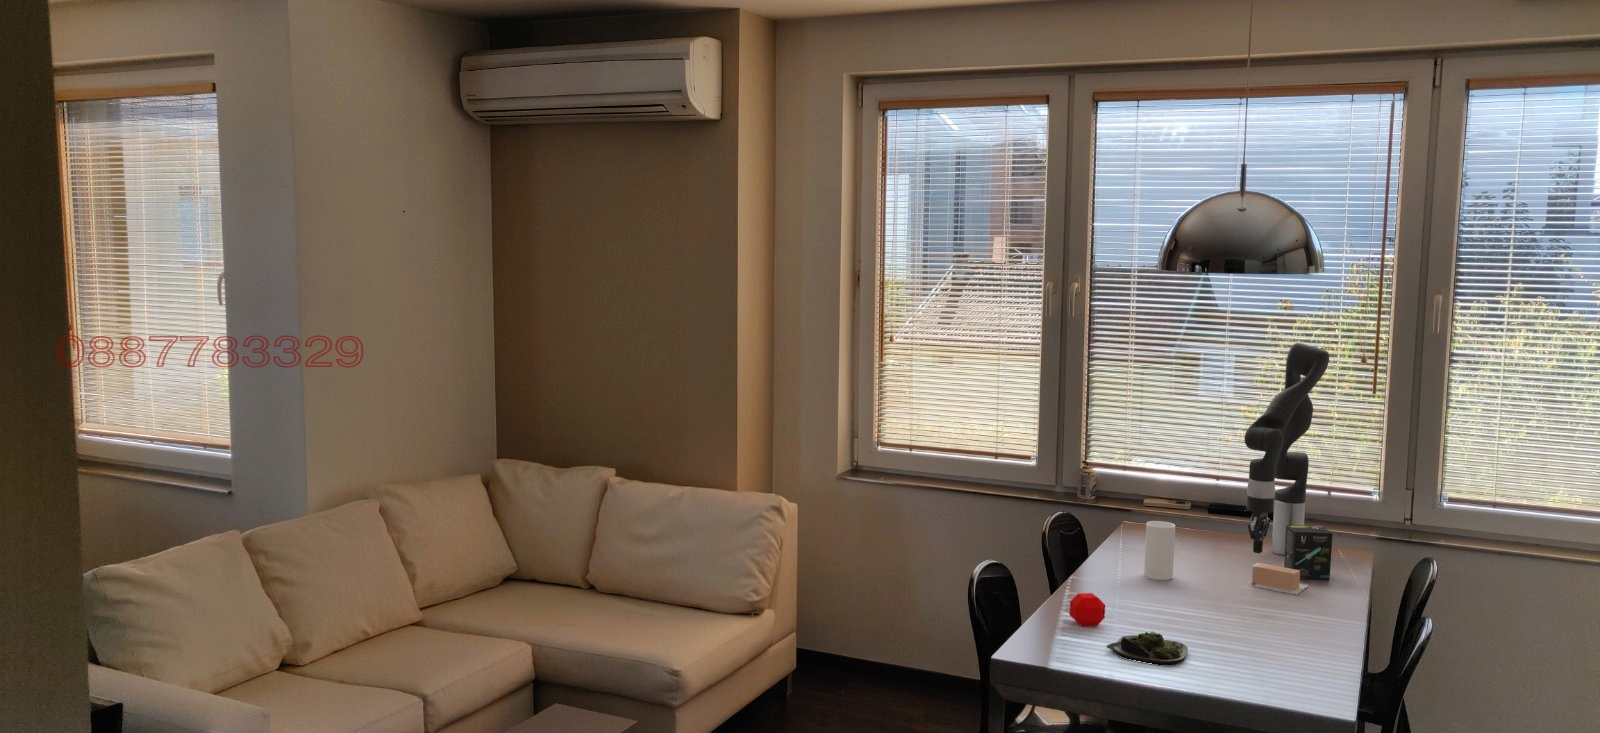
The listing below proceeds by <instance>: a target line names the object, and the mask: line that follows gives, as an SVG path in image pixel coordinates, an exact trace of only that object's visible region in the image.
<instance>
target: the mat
mask: <svg viewBox="0 0 1600 733" xmlns="http://www.w3.org/2000/svg"><path fill="white" fill-rule="evenodd" d="M1253 587H1254V588H1258V589H1259V588H1260V589H1264V590H1270V591H1275V592H1280V593H1284V592H1285V594H1289V593H1290V594H1291V595H1294V594H1296V595H1295V596H1297V595H1298V593H1299V594H1300V593H1302V592H1303V591H1305V590H1306V589H1307V588H1309V585H1307V584H1302V583H1299V588H1297V589H1296V590H1294V591H1292V590H1286V589H1281V588H1276V587H1271V586H1266V585H1261V584H1255V583H1254V585H1253ZM1305 588H1306V589H1305ZM1302 590H1303V591H1302ZM1301 591H1302V592H1301Z"/></svg>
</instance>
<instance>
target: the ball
mask: <svg viewBox="0 0 1600 733" xmlns="http://www.w3.org/2000/svg"><path fill="white" fill-rule="evenodd" d="M1105 614H1106V604H1105V602H1103V601H1102V600H1101V599H1100V598H1099V597H1098V596H1096V595H1095V594H1094V593H1092V592H1087V593H1086V592H1084V593H1083V592H1082V593H1081V592H1080V593H1077V594H1076V595H1075V596H1074V597H1073V598H1072V599H1071V600H1070V601H1069V616H1070V617H1071V618H1072V619H1073V620H1074V621H1075V622H1076V623H1077V624H1079V625H1080V626H1081V627H1083V628H1086V627H1089V628H1090V627H1098V625H1100V623H1102V621H1103V620H1104V619H1105Z"/></svg>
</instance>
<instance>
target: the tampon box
mask: <svg viewBox="0 0 1600 733" xmlns="http://www.w3.org/2000/svg"><path fill="white" fill-rule="evenodd" d="M1332 550H1333V532H1331V531H1330V530H1329V529H1327V528H1325V526H1321V525H1304V526H1297V525H1286V537H1285V555H1284V562H1283V563H1284V566H1283V567H1284V568H1290V569H1295V570H1300V580H1308V579H1313V580H1312V581H1315V580H1316V581H1317V580H1318V581H1330V580H1331V579H1330V578H1331V566H1332V563H1331V562H1332Z"/></svg>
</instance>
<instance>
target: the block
mask: <svg viewBox="0 0 1600 733" xmlns="http://www.w3.org/2000/svg"><path fill="white" fill-rule="evenodd" d="M1250 580H1251V584H1254V585H1255V584H1261V585H1266V586H1271V587H1276V588H1281V589H1286V590H1292V591H1294V590H1296V589H1297V588H1299V584H1300V582H1301V579H1300V570H1295V569H1290V568H1284V566H1283V567H1282V566H1278V565H1271V564H1267V563H1261V562H1257V563H1255V564H1253V565H1252V567H1251V579H1250Z"/></svg>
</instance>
